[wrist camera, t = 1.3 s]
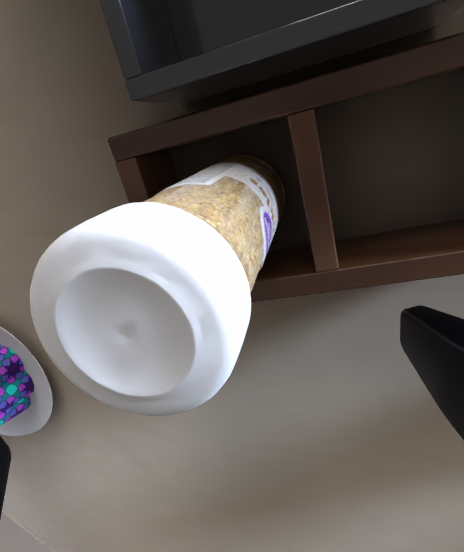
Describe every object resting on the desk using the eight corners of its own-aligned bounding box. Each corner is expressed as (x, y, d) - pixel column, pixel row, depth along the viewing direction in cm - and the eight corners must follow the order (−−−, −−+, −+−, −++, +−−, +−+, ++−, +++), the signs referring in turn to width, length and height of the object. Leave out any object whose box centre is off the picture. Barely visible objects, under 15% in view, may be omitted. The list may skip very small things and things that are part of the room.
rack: (498, 232, 17) (546, 263, 14) (191, 280, 22) (167, 313, 18) (501, 29, 14) (563, 2, 11) (145, 133, 19) (106, 138, 15)
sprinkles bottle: (296, 226, 19) (266, 415, 7) (217, 246, 21) (81, 434, 9) (272, 138, 18) (185, 193, 6) (188, 166, 19) (-23, 258, 7)
